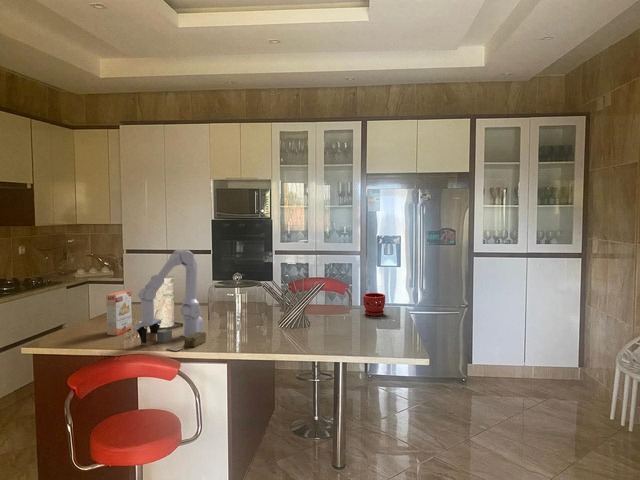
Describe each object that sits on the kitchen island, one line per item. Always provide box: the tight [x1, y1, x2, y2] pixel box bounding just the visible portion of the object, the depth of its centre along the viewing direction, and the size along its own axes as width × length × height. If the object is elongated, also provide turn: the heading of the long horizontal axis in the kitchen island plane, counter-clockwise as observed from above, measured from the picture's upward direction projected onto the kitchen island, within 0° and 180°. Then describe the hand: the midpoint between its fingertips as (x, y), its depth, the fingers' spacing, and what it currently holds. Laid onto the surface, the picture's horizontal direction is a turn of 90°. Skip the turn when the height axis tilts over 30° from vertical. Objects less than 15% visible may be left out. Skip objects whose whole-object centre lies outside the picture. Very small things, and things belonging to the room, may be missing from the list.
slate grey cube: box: [156, 328, 173, 343], centre depth 244 cm, size 5×5×5 cm
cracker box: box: [105, 290, 133, 337], centre depth 260 cm, size 14×6×21 cm, turn 168°
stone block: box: [183, 331, 207, 348], centre depth 237 cm, size 6×12×5 cm, turn 161°
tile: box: [165, 345, 187, 353], centre depth 229 cm, size 6×6×1 cm
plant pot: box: [362, 292, 386, 317], centre depth 299 cm, size 13×13×12 cm
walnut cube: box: [140, 331, 157, 347], centre depth 238 cm, size 5×5×5 cm
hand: (148, 341), depth 238 cm, fingers closed on walnut cube, 5 cm apart
